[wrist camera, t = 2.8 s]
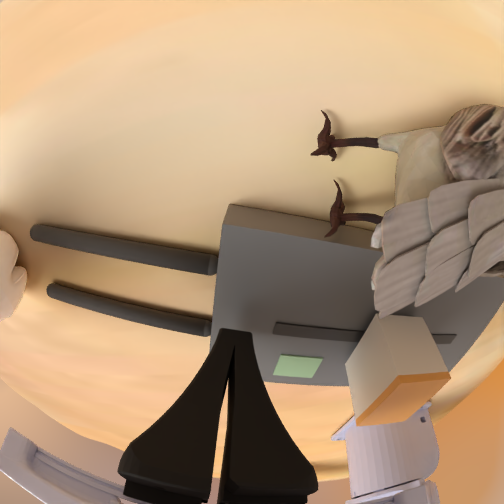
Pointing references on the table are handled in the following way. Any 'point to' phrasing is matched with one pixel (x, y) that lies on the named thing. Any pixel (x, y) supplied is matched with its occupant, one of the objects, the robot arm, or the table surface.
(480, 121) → the decorative bird
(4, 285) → the water bottle
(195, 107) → the table surface
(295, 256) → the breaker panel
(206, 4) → the table surface
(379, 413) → the handle
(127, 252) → the twin grey rods
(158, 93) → the table surface
